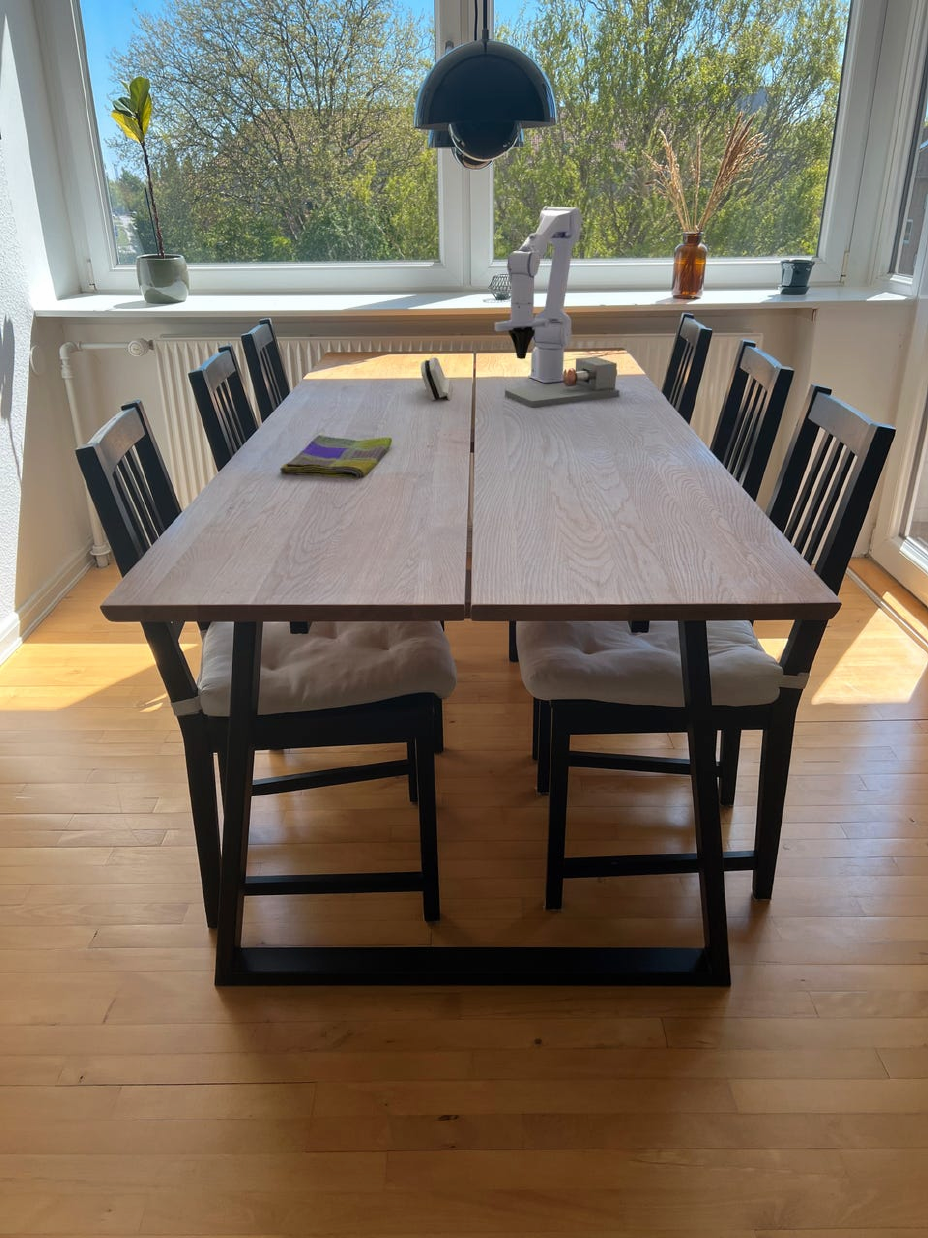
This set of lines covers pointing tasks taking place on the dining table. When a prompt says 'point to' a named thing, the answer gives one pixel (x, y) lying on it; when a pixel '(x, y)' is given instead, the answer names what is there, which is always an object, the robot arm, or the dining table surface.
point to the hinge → (435, 379)
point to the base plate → (556, 394)
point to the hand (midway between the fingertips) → (521, 357)
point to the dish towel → (339, 457)
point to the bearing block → (597, 373)
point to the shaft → (575, 376)
